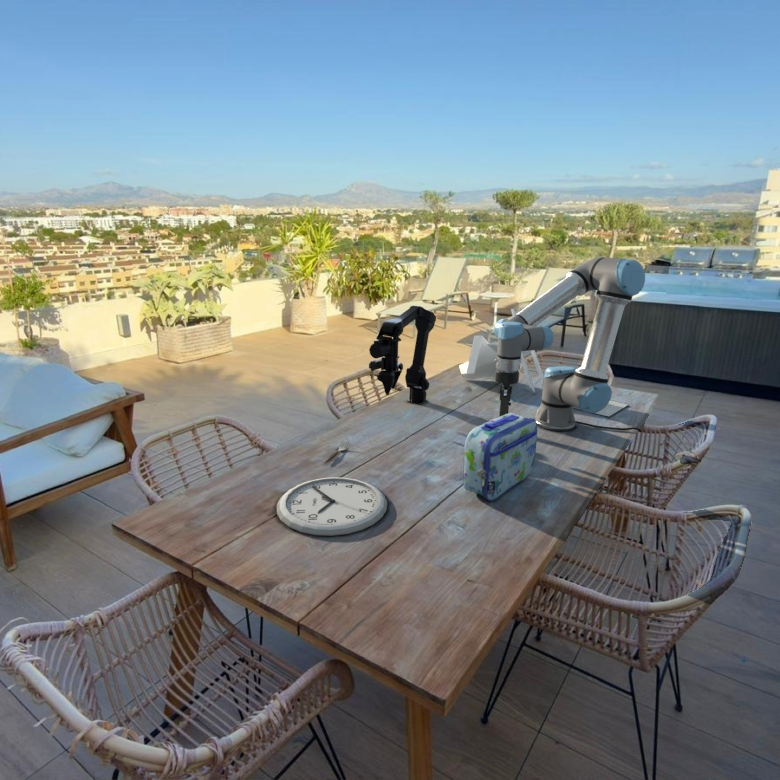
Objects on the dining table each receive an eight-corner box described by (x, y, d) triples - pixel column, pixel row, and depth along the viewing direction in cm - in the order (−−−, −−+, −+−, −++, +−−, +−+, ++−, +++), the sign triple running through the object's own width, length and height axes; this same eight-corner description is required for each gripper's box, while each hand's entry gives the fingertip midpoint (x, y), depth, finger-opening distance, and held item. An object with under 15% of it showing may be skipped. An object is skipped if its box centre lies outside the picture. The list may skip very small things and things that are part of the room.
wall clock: (392, 527, 129) (268, 531, 127) (391, 533, 130) (269, 537, 127) (383, 473, 158) (282, 475, 155) (383, 478, 158) (282, 480, 156)
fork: (322, 463, 168) (321, 457, 167) (343, 444, 182) (343, 439, 181) (329, 464, 167) (329, 458, 166) (349, 446, 181) (349, 440, 180)
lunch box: (487, 508, 142) (493, 436, 136) (456, 493, 150) (460, 425, 143) (537, 478, 160) (544, 414, 154) (507, 466, 167) (513, 405, 161)
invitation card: (608, 416, 214) (573, 407, 224) (608, 416, 214) (573, 408, 224) (628, 404, 229) (594, 396, 238) (628, 405, 229) (594, 397, 238)
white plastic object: (480, 422, 262) (459, 399, 237) (462, 348, 284) (440, 320, 259) (552, 397, 249) (538, 371, 225) (527, 322, 271) (511, 291, 247)
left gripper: (377, 347, 216) (377, 383, 221) (364, 357, 199) (364, 396, 203) (403, 349, 213) (402, 385, 218) (392, 359, 196) (391, 399, 201)
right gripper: (498, 360, 183) (493, 417, 189) (493, 379, 160) (488, 443, 166) (520, 361, 181) (514, 419, 187) (518, 381, 158) (512, 446, 164)
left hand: (390, 391), depth 210 cm, fingers open, 9 cm apart
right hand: (502, 430), depth 177 cm, fingers open, 13 cm apart
